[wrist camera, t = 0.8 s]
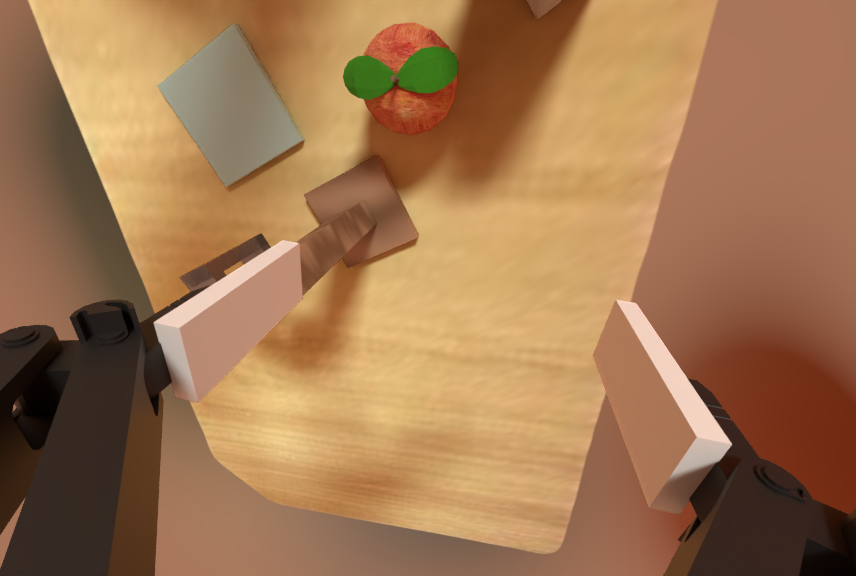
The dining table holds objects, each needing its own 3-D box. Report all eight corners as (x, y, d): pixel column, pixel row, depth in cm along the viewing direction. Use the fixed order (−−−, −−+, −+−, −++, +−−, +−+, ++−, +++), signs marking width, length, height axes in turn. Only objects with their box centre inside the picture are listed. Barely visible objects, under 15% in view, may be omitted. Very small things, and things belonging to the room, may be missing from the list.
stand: (262, 217, 46) (90, 300, 27) (378, 154, 40) (264, 202, 21) (306, 283, 49) (182, 399, 30) (418, 234, 43) (353, 340, 24)
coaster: (163, 86, 41) (157, 86, 40) (238, 25, 37) (233, 23, 36) (229, 185, 45) (225, 187, 44) (304, 140, 41) (300, 141, 40)
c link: (240, 244, 37) (179, 277, 30) (261, 233, 36) (203, 264, 29) (279, 300, 39) (232, 343, 32) (300, 291, 38) (256, 333, 31)
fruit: (460, 134, 38) (448, 144, 29) (371, 128, 39) (334, 135, 30) (469, 34, 34) (459, 9, 25) (370, 30, 35) (327, 5, 26)
